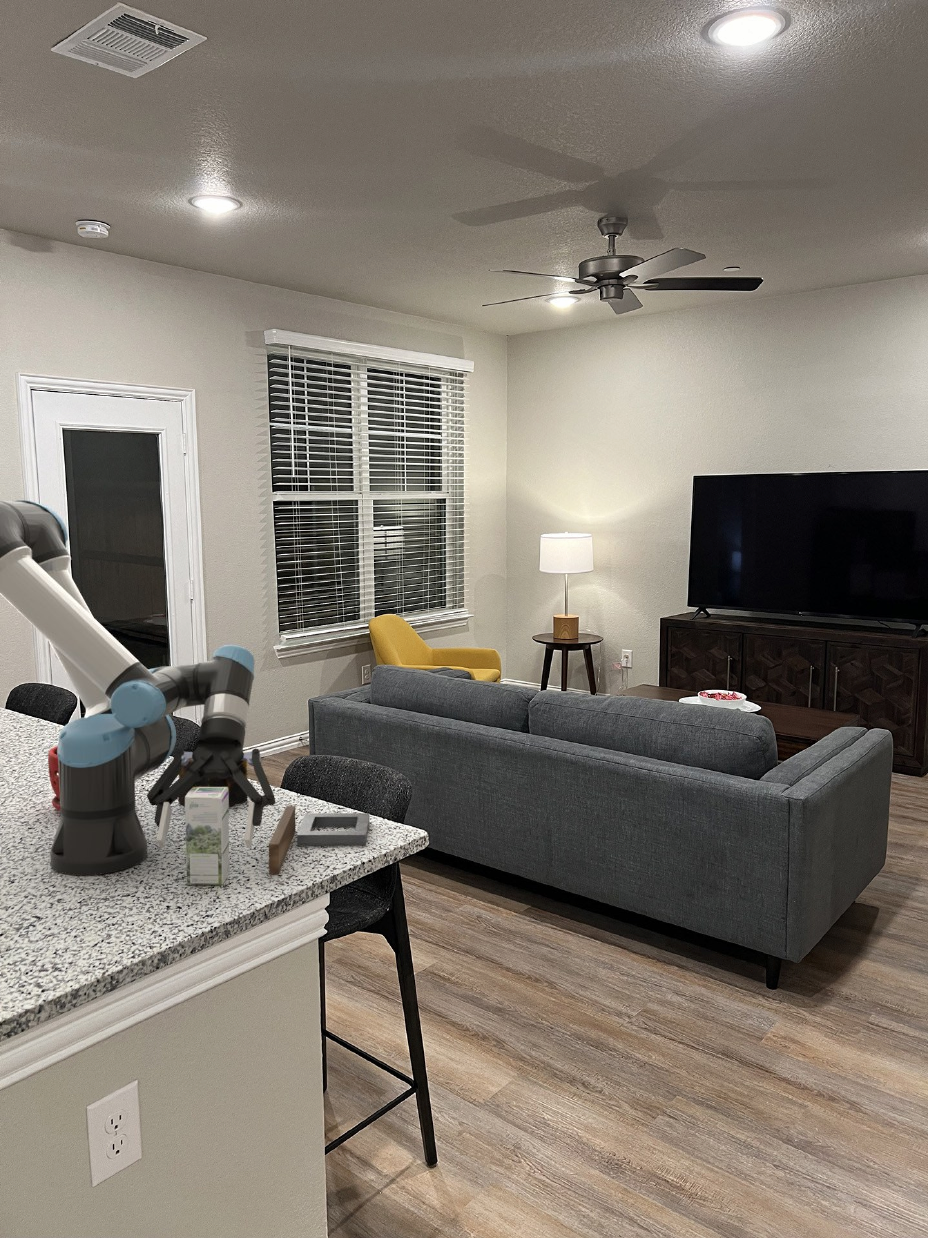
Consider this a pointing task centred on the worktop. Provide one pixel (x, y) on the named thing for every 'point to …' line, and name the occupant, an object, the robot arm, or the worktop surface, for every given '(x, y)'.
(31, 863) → the worktop surface
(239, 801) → the candle
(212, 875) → the syrup box
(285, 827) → the rail
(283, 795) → the worktop surface
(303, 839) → the block
